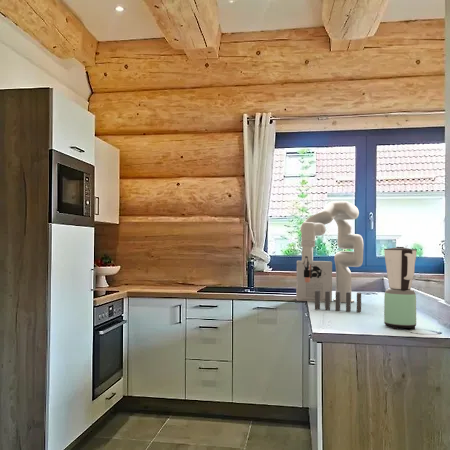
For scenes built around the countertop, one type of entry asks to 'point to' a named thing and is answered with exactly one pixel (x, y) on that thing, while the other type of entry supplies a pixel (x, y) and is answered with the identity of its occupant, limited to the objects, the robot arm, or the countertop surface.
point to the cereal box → (314, 281)
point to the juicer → (400, 288)
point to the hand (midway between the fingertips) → (307, 276)
